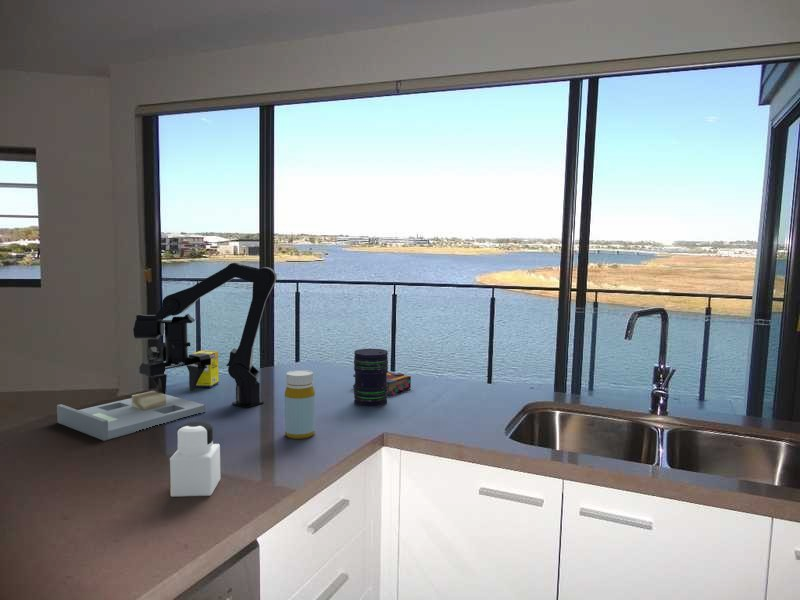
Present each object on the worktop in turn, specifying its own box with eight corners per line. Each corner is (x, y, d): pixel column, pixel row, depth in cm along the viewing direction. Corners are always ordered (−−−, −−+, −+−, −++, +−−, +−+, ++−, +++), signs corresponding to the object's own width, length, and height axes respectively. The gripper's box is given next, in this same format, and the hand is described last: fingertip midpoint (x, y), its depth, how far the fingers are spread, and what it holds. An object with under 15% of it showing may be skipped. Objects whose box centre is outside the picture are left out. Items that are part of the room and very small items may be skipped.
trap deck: (205, 412, 145) (205, 395, 145) (104, 440, 123) (103, 421, 122) (157, 398, 157) (157, 383, 157) (57, 422, 135) (56, 405, 135)
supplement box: (219, 383, 176) (218, 350, 175) (210, 388, 170) (210, 354, 169) (201, 383, 177) (200, 350, 176) (192, 387, 171) (192, 353, 170)
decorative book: (375, 381, 182) (376, 367, 182) (414, 390, 172) (414, 374, 172) (353, 388, 173) (353, 373, 173) (392, 397, 164) (392, 381, 163)
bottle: (319, 431, 131) (319, 371, 129) (305, 441, 124) (305, 377, 123) (294, 428, 133) (294, 368, 132) (279, 437, 126) (278, 374, 125)
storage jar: (347, 404, 154) (347, 353, 153) (362, 396, 163) (363, 347, 162) (379, 409, 150) (379, 356, 149) (393, 400, 159) (393, 350, 158)
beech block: (166, 405, 144) (165, 394, 144) (144, 410, 139) (144, 399, 139) (153, 401, 148) (153, 390, 147) (132, 406, 143) (131, 395, 143)
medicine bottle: (182, 480, 103) (181, 418, 102) (220, 479, 103) (219, 418, 102) (169, 497, 96) (167, 431, 94) (211, 496, 96) (209, 430, 95)
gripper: (188, 332, 161) (189, 383, 163) (127, 340, 146) (129, 396, 147) (212, 335, 155) (212, 389, 156) (150, 344, 140) (152, 403, 141)
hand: (177, 394), depth 150 cm, fingers open, 8 cm apart
